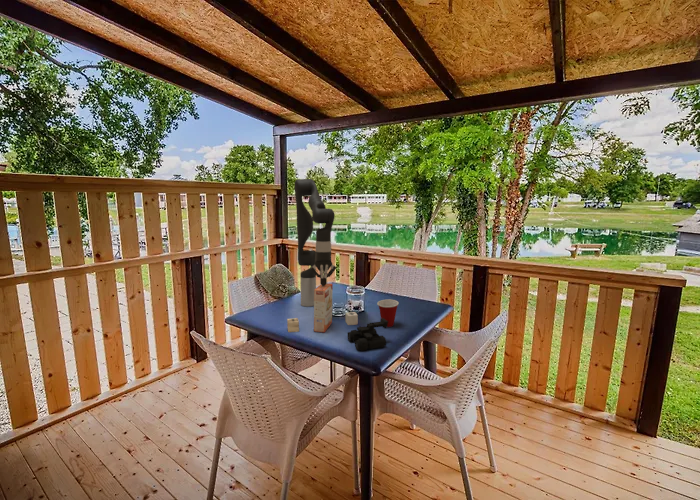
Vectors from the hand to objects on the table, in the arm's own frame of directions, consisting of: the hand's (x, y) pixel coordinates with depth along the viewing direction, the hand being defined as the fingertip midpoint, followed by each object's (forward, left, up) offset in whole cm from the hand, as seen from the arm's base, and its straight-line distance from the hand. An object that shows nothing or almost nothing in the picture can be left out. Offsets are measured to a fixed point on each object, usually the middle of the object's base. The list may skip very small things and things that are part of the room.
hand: (323, 285), depth 158 cm
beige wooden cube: (-2, +15, -21) cm, 26 cm away
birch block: (0, -15, -21) cm, 26 cm away
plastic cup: (+5, +32, -22) cm, 39 cm away
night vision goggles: (+23, +16, -22) cm, 36 cm away
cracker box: (0, 0, -22) cm, 22 cm away
